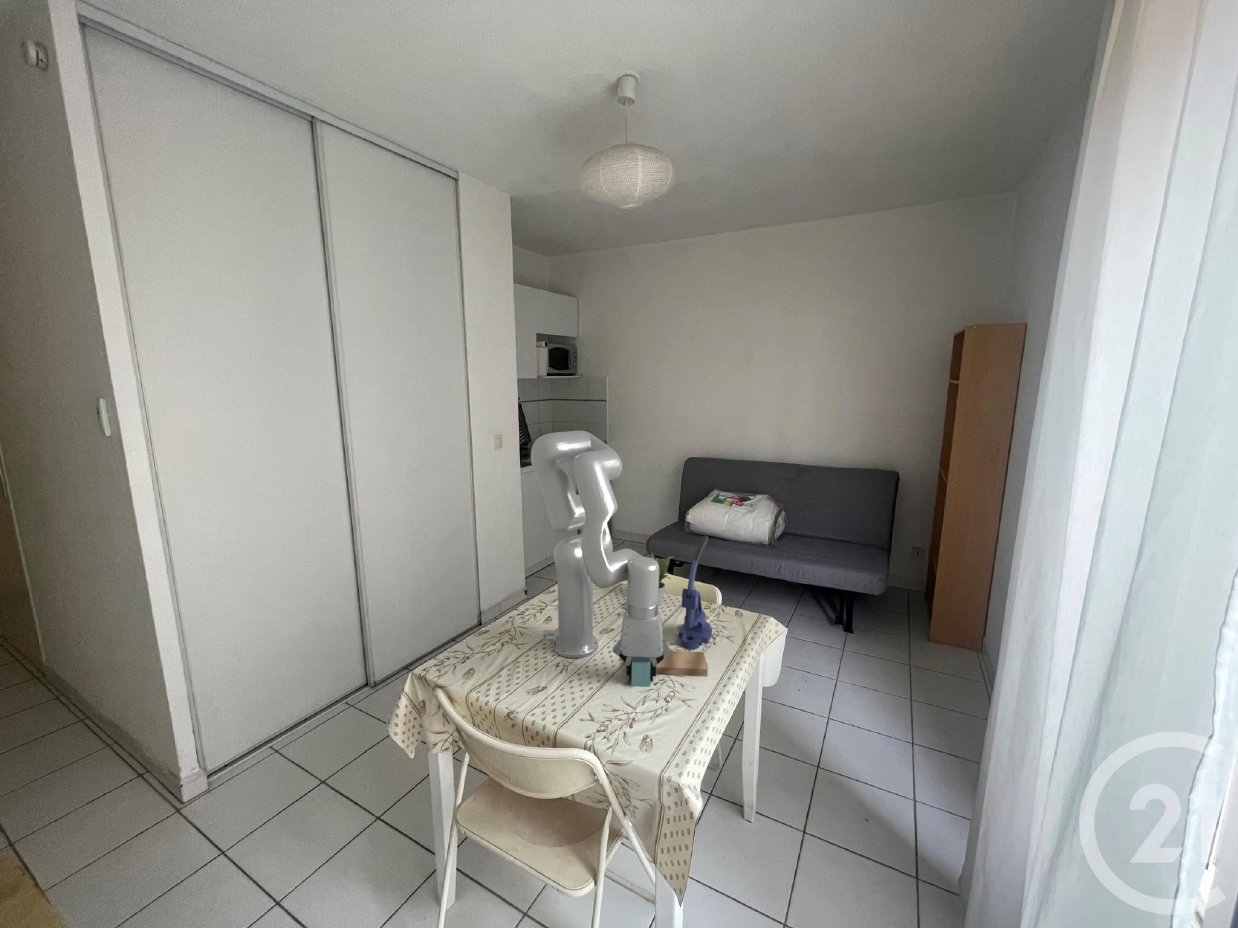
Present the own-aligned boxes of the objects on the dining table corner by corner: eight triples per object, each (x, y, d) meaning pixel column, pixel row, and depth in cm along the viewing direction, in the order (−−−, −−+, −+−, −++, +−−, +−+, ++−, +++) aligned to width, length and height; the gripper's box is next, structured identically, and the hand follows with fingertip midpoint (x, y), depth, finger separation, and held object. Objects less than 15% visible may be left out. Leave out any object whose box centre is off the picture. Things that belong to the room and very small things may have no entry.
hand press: (702, 655, 134) (706, 556, 130) (671, 648, 138) (674, 552, 133) (716, 624, 152) (720, 536, 147) (689, 619, 155) (692, 533, 150)
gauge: (631, 685, 121) (631, 663, 120) (632, 662, 131) (633, 640, 130) (649, 686, 120) (650, 664, 119) (649, 662, 131) (650, 641, 130)
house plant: (656, 588, 178) (657, 544, 175) (685, 601, 167) (686, 555, 164) (626, 599, 169) (626, 553, 166) (654, 614, 158) (655, 565, 156)
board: (627, 673, 126) (628, 665, 126) (628, 656, 134) (629, 649, 133) (707, 676, 125) (707, 668, 125) (703, 658, 133) (703, 651, 133)
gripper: (606, 614, 117) (605, 685, 120) (678, 617, 116) (676, 688, 119) (608, 600, 124) (608, 667, 127) (676, 603, 123) (674, 670, 126)
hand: (641, 677), depth 123 cm, fingers closed on gauge, 4 cm apart
